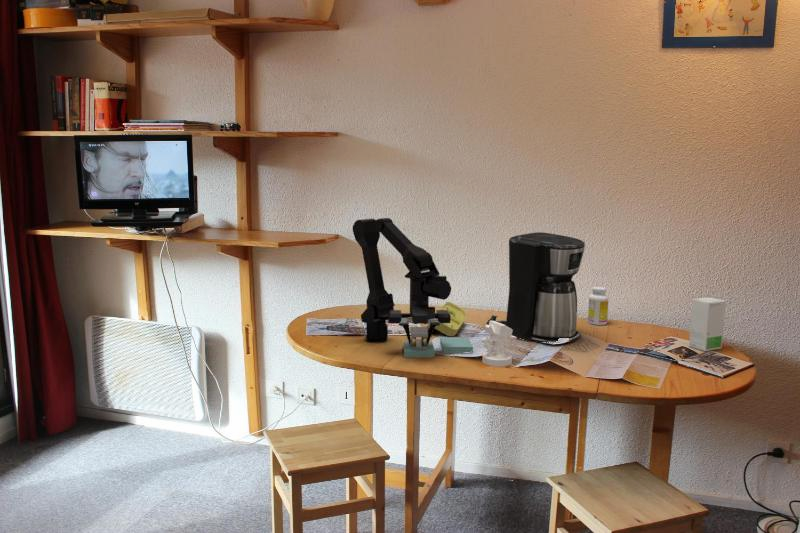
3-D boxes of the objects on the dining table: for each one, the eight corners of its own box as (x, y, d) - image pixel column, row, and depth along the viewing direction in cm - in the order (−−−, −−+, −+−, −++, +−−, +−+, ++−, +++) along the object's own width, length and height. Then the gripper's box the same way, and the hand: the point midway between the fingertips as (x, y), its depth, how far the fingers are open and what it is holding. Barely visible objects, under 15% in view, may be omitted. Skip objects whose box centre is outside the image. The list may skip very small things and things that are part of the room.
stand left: (404, 357, 202) (404, 351, 201) (403, 347, 212) (403, 341, 211) (434, 357, 202) (434, 351, 202) (431, 347, 212) (432, 341, 212)
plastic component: (456, 331, 222) (430, 316, 224) (447, 349, 225) (421, 334, 226) (469, 312, 240) (444, 299, 242) (460, 329, 243) (436, 315, 245)
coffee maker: (575, 349, 211) (581, 242, 205) (475, 338, 222) (477, 236, 216) (583, 330, 232) (589, 233, 226) (491, 321, 243) (494, 228, 237)
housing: (411, 350, 203) (411, 334, 202) (409, 342, 210) (410, 326, 209) (427, 350, 203) (428, 333, 202) (425, 342, 211) (426, 326, 210)
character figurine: (476, 359, 200) (477, 320, 198) (502, 355, 205) (503, 316, 203) (494, 368, 193) (495, 327, 191) (520, 363, 197) (522, 323, 195)
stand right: (443, 353, 206) (443, 347, 206) (440, 343, 216) (440, 337, 216) (472, 353, 206) (472, 346, 206) (468, 343, 216) (468, 337, 216)
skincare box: (704, 352, 209) (709, 303, 206) (686, 346, 215) (691, 298, 212) (722, 348, 213) (727, 300, 210) (704, 342, 219) (709, 296, 216)
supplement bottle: (608, 322, 243) (611, 287, 241) (605, 326, 237) (607, 290, 235) (589, 319, 246) (591, 285, 244) (585, 324, 240) (587, 288, 238)
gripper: (388, 300, 195) (388, 352, 198) (453, 300, 196) (452, 351, 199) (388, 291, 206) (387, 341, 209) (449, 291, 207) (448, 340, 210)
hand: (418, 343), depth 206 cm, fingers closed on housing, 5 cm apart
